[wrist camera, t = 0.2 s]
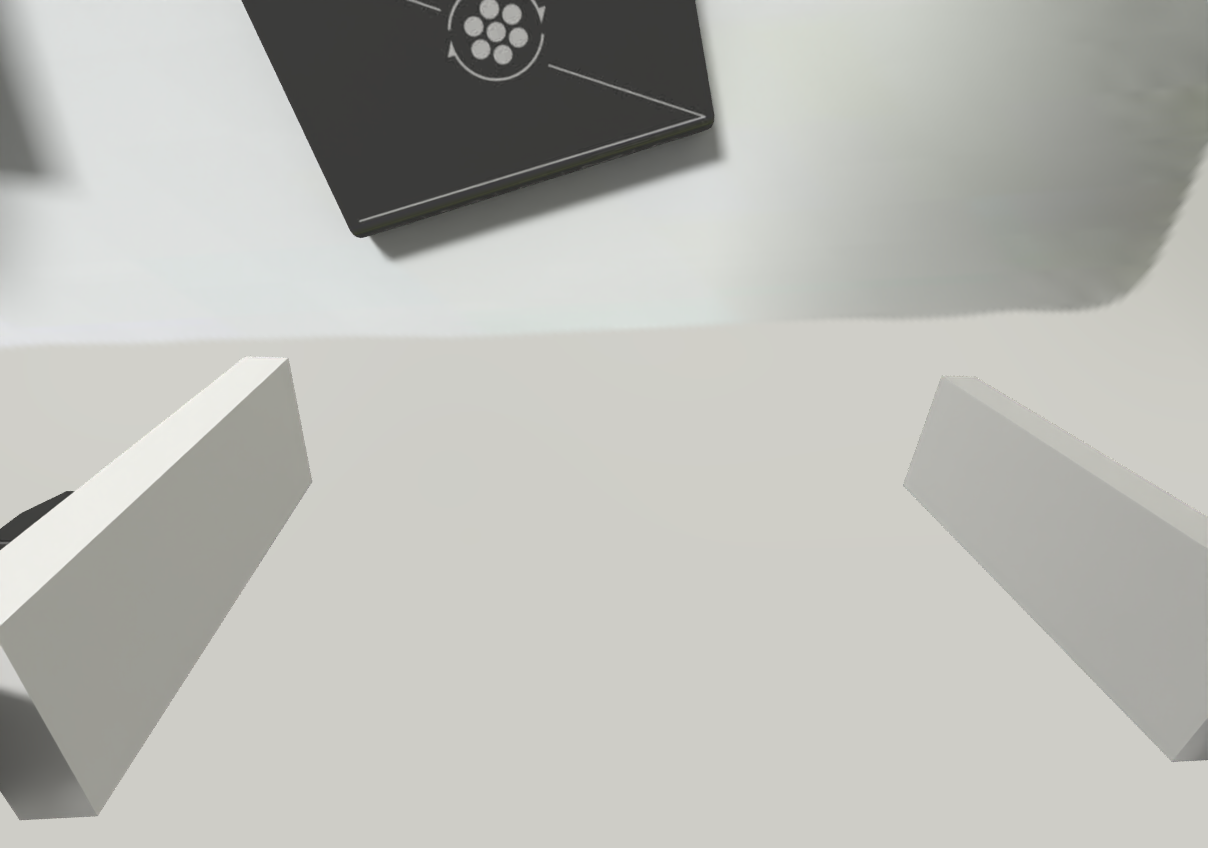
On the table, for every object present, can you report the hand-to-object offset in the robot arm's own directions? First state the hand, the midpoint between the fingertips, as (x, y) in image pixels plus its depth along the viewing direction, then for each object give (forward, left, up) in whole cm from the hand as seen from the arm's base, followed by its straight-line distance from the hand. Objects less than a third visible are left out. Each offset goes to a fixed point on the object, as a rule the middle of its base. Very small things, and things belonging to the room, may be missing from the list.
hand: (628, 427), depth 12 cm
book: (-9, -5, -29) cm, 30 cm away
